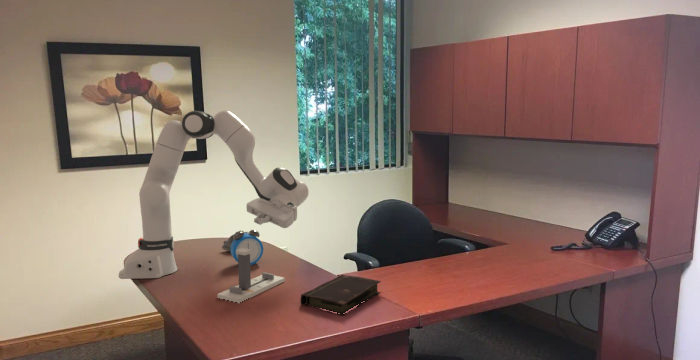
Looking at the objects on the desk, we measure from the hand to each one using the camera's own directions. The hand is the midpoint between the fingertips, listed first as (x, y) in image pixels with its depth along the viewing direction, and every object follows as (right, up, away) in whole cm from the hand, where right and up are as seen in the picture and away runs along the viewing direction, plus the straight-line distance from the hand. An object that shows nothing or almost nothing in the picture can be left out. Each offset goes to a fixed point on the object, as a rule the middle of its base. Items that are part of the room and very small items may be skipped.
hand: (256, 222), depth 188 cm
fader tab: (-3, -23, -7) cm, 25 cm away
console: (-1, -25, -4) cm, 25 cm away
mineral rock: (-18, -18, +48) cm, 55 cm away
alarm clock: (-9, -21, +27) cm, 35 cm away
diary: (+33, -27, -13) cm, 44 cm away
